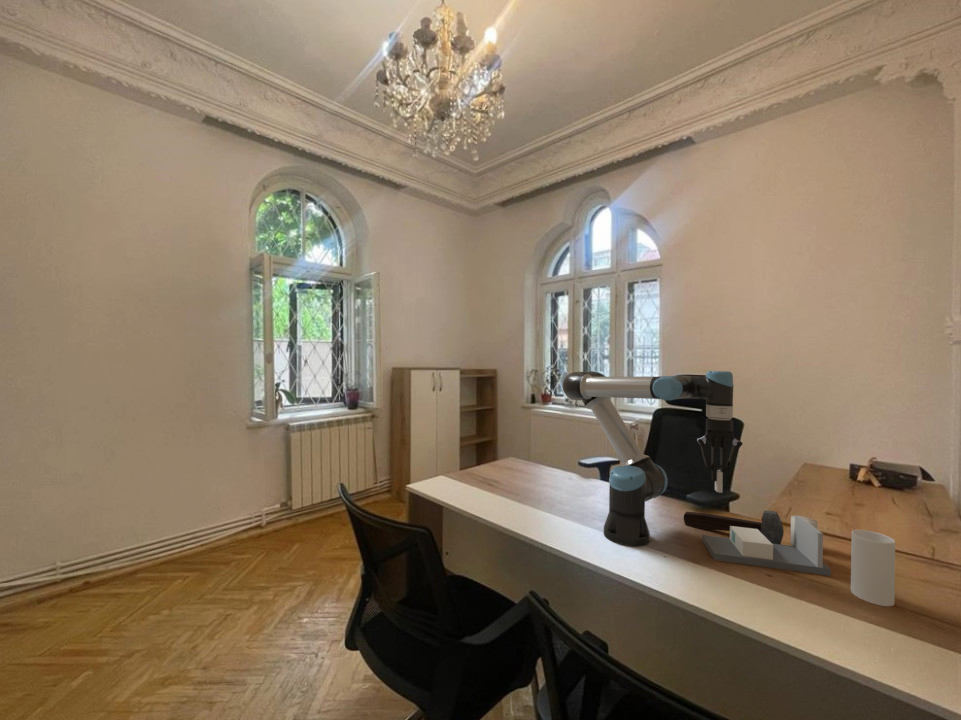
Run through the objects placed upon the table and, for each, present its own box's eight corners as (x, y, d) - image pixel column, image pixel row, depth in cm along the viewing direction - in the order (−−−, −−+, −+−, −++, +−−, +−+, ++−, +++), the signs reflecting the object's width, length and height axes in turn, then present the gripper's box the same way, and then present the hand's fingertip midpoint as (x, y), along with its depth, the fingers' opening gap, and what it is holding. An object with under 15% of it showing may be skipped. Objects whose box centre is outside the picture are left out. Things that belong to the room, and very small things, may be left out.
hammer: (685, 536, 149) (785, 550, 130) (681, 505, 150) (780, 515, 131) (687, 531, 153) (785, 545, 134) (684, 501, 154) (780, 511, 135)
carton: (742, 555, 122) (742, 541, 122) (729, 539, 134) (729, 525, 134) (773, 559, 120) (773, 545, 120) (757, 542, 132) (757, 529, 132)
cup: (842, 588, 109) (843, 529, 109) (869, 587, 110) (870, 529, 110) (874, 606, 101) (875, 543, 101) (903, 605, 101) (904, 542, 102)
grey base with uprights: (714, 559, 123) (714, 521, 124) (702, 540, 137) (702, 505, 137) (830, 576, 115) (831, 534, 115) (805, 553, 129) (806, 516, 129)
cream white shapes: (796, 549, 132) (797, 522, 132) (786, 540, 138) (787, 514, 138) (821, 552, 130) (822, 525, 130) (810, 543, 136) (811, 517, 136)
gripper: (699, 418, 128) (699, 492, 128) (746, 421, 124) (745, 497, 124) (694, 416, 135) (693, 485, 135) (738, 417, 131) (737, 489, 131)
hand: (718, 491), depth 129 cm, fingers closed
